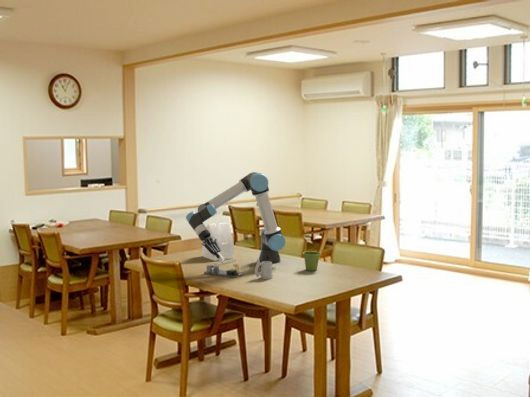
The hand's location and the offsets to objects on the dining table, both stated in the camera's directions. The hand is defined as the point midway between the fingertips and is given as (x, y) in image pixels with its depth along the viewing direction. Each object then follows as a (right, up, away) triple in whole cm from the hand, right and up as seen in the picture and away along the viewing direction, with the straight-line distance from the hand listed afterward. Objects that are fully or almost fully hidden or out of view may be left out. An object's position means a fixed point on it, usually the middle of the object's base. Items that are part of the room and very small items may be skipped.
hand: (222, 261), depth 386 cm
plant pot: (+57, -7, +14) cm, 59 cm away
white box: (-7, -3, +55) cm, 55 cm away
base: (+1, -8, +1) cm, 8 cm away
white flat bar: (0, -3, +1) cm, 3 cm away
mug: (+26, -9, -10) cm, 29 cm away
